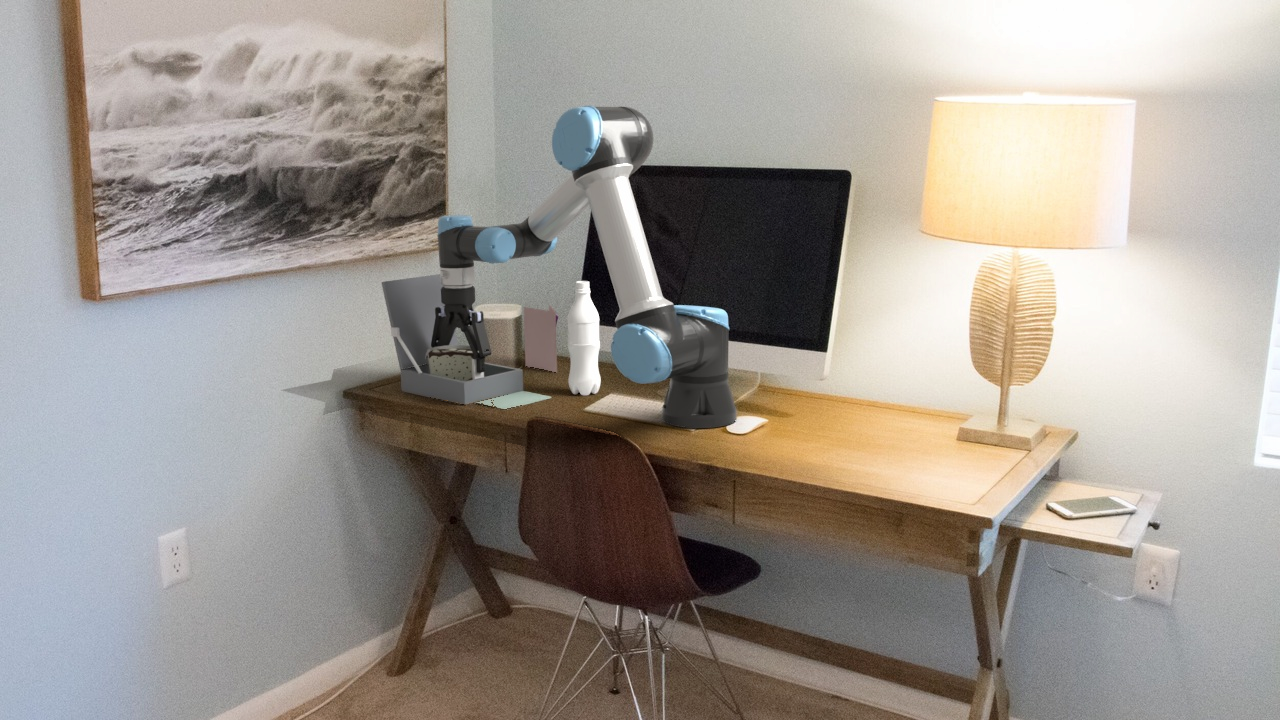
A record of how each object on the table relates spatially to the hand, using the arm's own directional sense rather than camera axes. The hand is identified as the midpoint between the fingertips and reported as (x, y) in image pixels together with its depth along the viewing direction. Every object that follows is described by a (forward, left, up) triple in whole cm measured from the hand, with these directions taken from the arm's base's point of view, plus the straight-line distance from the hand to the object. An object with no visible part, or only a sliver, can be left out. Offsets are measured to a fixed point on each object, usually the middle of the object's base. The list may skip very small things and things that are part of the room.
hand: (462, 383), depth 255 cm
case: (+3, 0, -2) cm, 3 cm away
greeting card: (+3, -28, -2) cm, 28 cm away
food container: (+2, 0, -2) cm, 3 cm away
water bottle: (-23, -16, -2) cm, 28 cm away
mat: (-16, -1, -2) cm, 16 cm away
